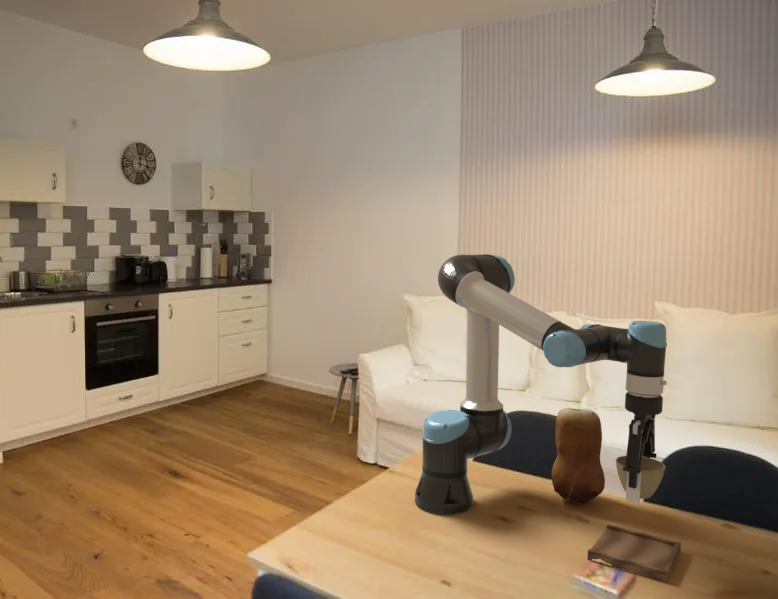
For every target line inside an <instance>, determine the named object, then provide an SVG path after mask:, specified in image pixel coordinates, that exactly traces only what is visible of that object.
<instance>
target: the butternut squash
mask: <svg viewBox="0 0 778 599" xmlns="http://www.w3.org/2000/svg"><path fill="white" fill-rule="evenodd" d="M556 416H557V417H556V420H555V421H556V422H555V431H554V432H555V434H554V435H555V439H554V440H555V447H556V452H557V453H556V454H557V455H556V458H555V461H554V463H553V465H552V469H551V482H552V483H551V484H552V486H553V490H554V492H555V493H556V494H558V495H559V496H560V497H561V498H562V499H563V500H566V501H568V502H571V503H576V504H580V505H584V504H587V503H589V502H591V501H593V500H594V499H596V498H597V497H599V495H601V494H602V492H603V491H604V490H605V485H606V478H605V477H606V476H605V472H604V469H603V466H602V464H601V452H602V450H601V449H602V442H603V430H602V423H601V419H600V416H599V414H597V413H596V412H595V411H594V410H592V409H588V408H587V409H586V408H585V409H584V408H571V407H565V408H561V409H559V410H558V412H557V415H556Z"/></svg>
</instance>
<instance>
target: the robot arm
mask: <svg viewBox="0 0 778 599" xmlns="http://www.w3.org/2000/svg"><path fill="white" fill-rule="evenodd" d="M515 279H516V278H515V272H514V269H513V267H512V265H511V264H510V263H509V262H508V261H507V260H506V259H505V257H503V256H500V255H497V254H489V253H488V254H487V253H486V254H456V255H454V256H451V257H449V258H448V259H446V260H445V261H444V262H443V264H442V265H441V266H440V268H439V271H438V274H437V283H438V286H439V289H440V291H441V293H442V294H443V296H445V297H446V298H447V299H448V300H450V301H452V302H453V303H455V304H456V305H458V306H459V307H461V308H464V309H465V310H466V316H467V318H466V365H465V366H466V369H465V370H466V372H465V373H466V379H465V380H466V382H465V383H466V384H465V398H464V399H463V400H462V401H461V402H460V404H459V406H460V407H459V410H458V409H448V410H445V409H444V410H438V411H435V412H433V413H431V414H429V415H427V417H426V418H425V420H424V421H423V422H424V423H423V429H422V433H421V434H422V468H421V470H422V471H421V476H420V478H419V479H418V483H417V487H416V490H415V493H414V503H415V505H416V506H417V507H418V508H419V509H422V511H426V512H429V513H432V514H436V515H437V514H438V515H439V514H440V515H456V514H462V513H464V512H467V511H469V510H471V508H472V507H473V505H474V495H473V492H472V488H471V484H470V481H469V478H468V460H470V459H472V458H473V459H474V458H476V457H480V456H484V455H486V454H487V455H488V454H492V453H495V452H497V451H499V450H500V449H503V448H504V447H505V446H506V445H507V444H508V442H509V441H510V439H511V436H512V422H511V419H510V418H509V417H508V416H509V414H508V413H507V412H506V411H505V410H504V404H503V403H502V402H501V401H500V400H499V396H498V395H499V359H500V358H499V354H500V353H499V350H500V346H499V345H500V326H501V327H503V328H504V329H506V330H508V331H509V332H511V333H512V334H514V335H516V336H517V337H519V338H521V339H523V340H524V341H526V342H528V343H529V344H531V345H533V346H534V347H536V348H537V349H539V350H541V351H542V352H543V355H544V357H545V358H546V359H547V362H548V364H551V365H552V366H553V367H556V368H572V367H573V368H574V367H575V366H579V365H585V364H589V363H594V362H595V363H596V362H599V361H611V362H612V361H613V362H618V363H624V364H625V363H626V375H625V376H626V377H625V378H626V380H625V390H626V391H627V392H626V393H625V395H624V396H625V400H624V408H625V410H626V411H628V412H629V413H633V414H634V417H633V419H631V422H630V423H629V424H628V441H627V446H626V448H627V449H626V455H625V456H626V463H625V467H623V471H627V483H626V492H625V501H627V502H631V503H635V504H641V503H640V502H641V499H640V488H641V472H640V468H641V462H642V456H643V457H648V458H652V459H657V456H658V455H657V453H655V452H656V445H655V444H656V443H655V442H656V434H655V433H656V431H655V430H656V426H655V425H656V424H655V423H656V416H657V415H661V413H663V404H664V397H663V396H662V394H663V393H664V386H666V385H667V380H664V379H665V366H666V364H665V363H666V351H667V346H668V343H667V327H666V325H665V324H663V323H661V322H658V321H650V320H649V321H648V320H634V321H631V322H630V323H629V326H628V328H621V327H615V326H608V325H602V324H600V323H597V324H589V323H587V324H583V325H581V327H580V328H578V329H577V328H576V329H575V328H573V327H571V326H569V325H568V324H566V323H564V322H562V321H561V320H559V319H557V318H555V317H553V316H551V315H550V314H548V313H546V312H545V311H542V310H541V309H538V308H536V307H535V306H533V305H531V304H530V303H527V302H526V301H524V300H522V299H520V298H519V297H517V296H515V295H513V294H511V292H512V291H513V290H514V286H515ZM633 466H634V467H633Z"/></svg>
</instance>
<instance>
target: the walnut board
mask: <svg viewBox="0 0 778 599" xmlns="http://www.w3.org/2000/svg"><path fill="white" fill-rule="evenodd" d="M681 547H682V543H681V542H678V541H675V540H670V539H668V538H664V537H661V536H656V535H652V534H648V533H644V532H640V531H637V530H632V529H628V528H625V527H621V526H617V525H613V524H609V523H608V524H606V528H605V530H604V531H603V533H601V535H600V536H599V538H597V540H596V542H594V544H593V545H592V547H591V548H589V549H588V550H587V558H586V559H587V561H590V560H592V559H601V560H603V561H605V562H607V563H609V564H611V565H612V566H614V567H616V568H615V569H617V568H620V569H619V570H621V569H624V570H627V571H626V572H628V571H631V572H634V573H633V574H634V575H638V576H643V577H645V578H649V579H652V580H656V581H659V582H663V583H665V584H666V583H667V581H668V580H669V577H670V575H671V573H672V571H673V569H674V566H675V564H676V562H677V560H678V558H679V555H680V553H681ZM614 567H613V568H614ZM624 570H623V571H624ZM631 572H630V573H631Z"/></svg>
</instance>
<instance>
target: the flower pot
mask: <svg viewBox="0 0 778 599" xmlns="http://www.w3.org/2000/svg"><path fill="white" fill-rule="evenodd" d="M625 463H626V455H620V456H618V457H617V458H615V466H616V471H617V475H618V476H617V477H618V479H619V480H620V484H621V487H622V488H623V490H624V491H625V493H626V483H627V471H623V467H625ZM633 467H634V466H633ZM665 470H666V465H665V464H664V463H663V462H661V460H660V461H659V460H658V459H656V458H652V457H650V458H648V457H643V456H642V462H641V468H640V472H641V488H640V500H641V499H643V500H646V499H650V498H651V497H652V496H653V495H654V494H655V492H656V491H657V489H658V488H659V486H660V484H661V482H662V480H663V476H664V474H665Z"/></svg>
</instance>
